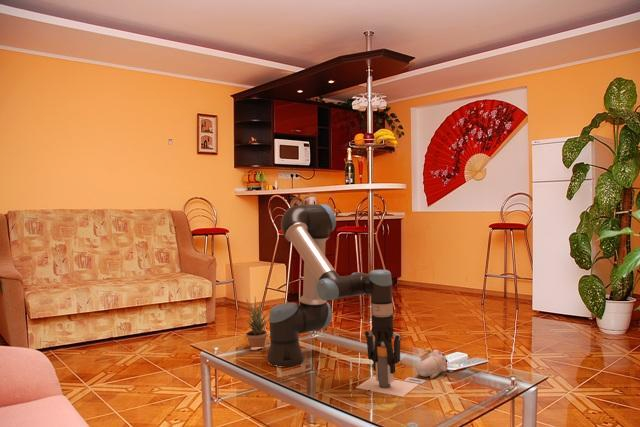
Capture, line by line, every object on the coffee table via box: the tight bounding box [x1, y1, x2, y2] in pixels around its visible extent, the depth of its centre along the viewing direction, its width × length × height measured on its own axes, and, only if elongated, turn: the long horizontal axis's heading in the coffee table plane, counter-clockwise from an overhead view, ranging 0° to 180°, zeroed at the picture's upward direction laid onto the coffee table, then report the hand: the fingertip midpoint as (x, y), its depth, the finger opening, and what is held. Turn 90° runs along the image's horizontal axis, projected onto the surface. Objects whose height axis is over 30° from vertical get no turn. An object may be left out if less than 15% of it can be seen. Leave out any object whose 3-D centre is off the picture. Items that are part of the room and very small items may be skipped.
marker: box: [377, 345, 391, 388], centre depth 185 cm, size 4×4×14 cm
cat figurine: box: [415, 349, 449, 379], centre depth 197 cm, size 10×8×15 cm
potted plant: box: [245, 297, 268, 348], centre depth 239 cm, size 10×10×25 cm
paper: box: [355, 375, 420, 398], centre depth 186 cm, size 18×13×1 cm
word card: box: [402, 376, 427, 385], centre depth 191 cm, size 7×4×1 cm, turn 56°
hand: (384, 381), depth 186 cm, fingers closed on marker, 4 cm apart
